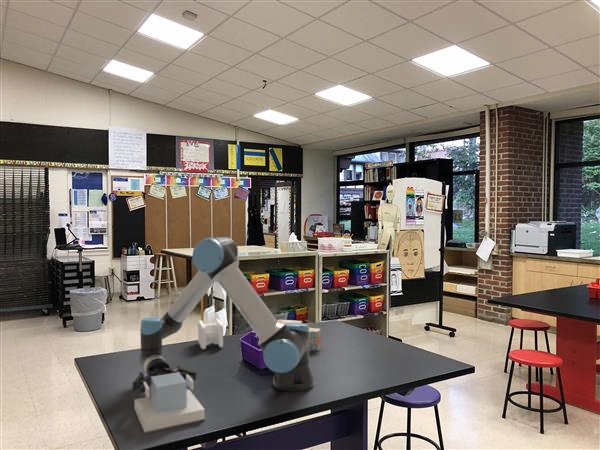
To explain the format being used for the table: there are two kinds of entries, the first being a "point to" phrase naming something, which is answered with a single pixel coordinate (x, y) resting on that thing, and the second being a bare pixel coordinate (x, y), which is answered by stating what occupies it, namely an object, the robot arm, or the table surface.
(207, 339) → the cable organizer
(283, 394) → the table surface
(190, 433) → the table surface
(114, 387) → the table surface
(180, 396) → the grey-blue block
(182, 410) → the socket
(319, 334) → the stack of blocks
